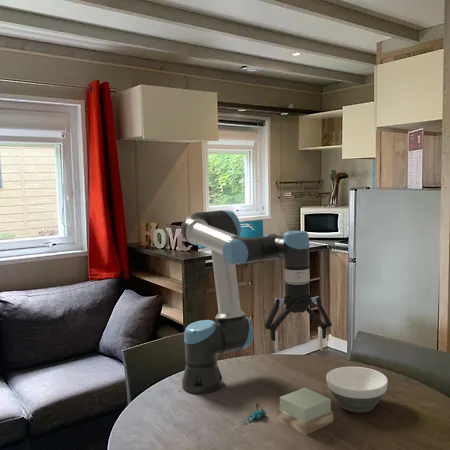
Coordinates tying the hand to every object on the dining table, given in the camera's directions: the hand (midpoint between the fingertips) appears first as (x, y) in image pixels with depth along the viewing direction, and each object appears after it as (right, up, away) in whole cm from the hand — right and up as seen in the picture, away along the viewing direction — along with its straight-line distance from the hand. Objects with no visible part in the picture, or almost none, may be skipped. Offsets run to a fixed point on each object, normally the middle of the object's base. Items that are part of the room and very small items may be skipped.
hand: (298, 349), depth 149 cm
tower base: (+2, -23, +2) cm, 23 cm away
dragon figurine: (-14, -24, +5) cm, 28 cm away
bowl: (+21, -21, +11) cm, 32 cm away
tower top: (+2, -19, +1) cm, 19 cm away
